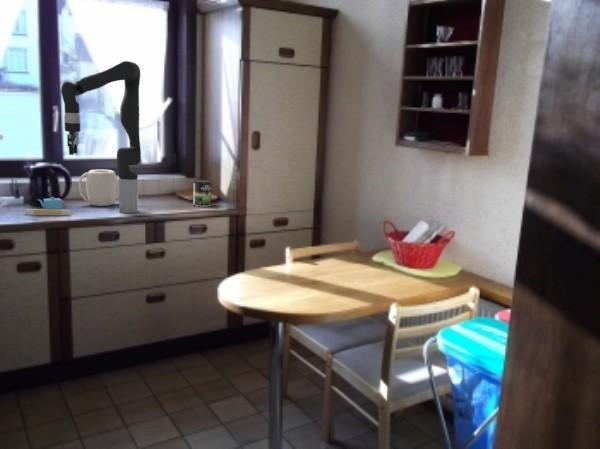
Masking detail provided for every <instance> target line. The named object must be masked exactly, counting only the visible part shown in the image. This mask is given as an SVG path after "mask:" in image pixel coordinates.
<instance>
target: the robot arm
mask: <svg viewBox="0 0 600 449" xmlns="http://www.w3.org/2000/svg"><path fill="white" fill-rule="evenodd" d="M117 81H118V82H119V81H123V82H124V93H123V96H122V99H121V103H120V108H119V110H120V111H119V114H120V115H119V116H120V118H119V119H120V120H119V121H120V123H121V125H122V127H123V129H124V131H125V132H126V134H127V136H128V140H129V146H128V147H127V146H124V147H122V146H121V147H119V148H118V149H117V153H116V163H117V164H116V166H117V175H118V177H119V198H118V211H119V213H121V214H122V213H123V214H125V213H126V214H134V213H138V212H139V192H138V191H139V190H138V189H139V188H138V184H139V183H138V180H139V179H138V173H137V172H134V171H132V170H130V166H137V165H140V162H141V161H142V160H141V158H142V150H141V142H140V141H141V140H140V93H139V92H140V81H141V69H140V67H139V65H138V64H137V63H136V62H133V61H128V60H125V61H122V62H119V63H118V64H115V65H114V66H112V67H111V68H108V69H105V70H103V71H100V72H97V73H94V74H93V73H92V74H89V75H86V76H84V77H82V78H80V80H77V81H67V80H66V81H64V82H63V83H62V84H61V85H62V86H61V98H62V101H63V104H64V116H63V117H64V119H63V121H64V131H65V132H68V134H66V136H67V137H66V138H67V144H66V146H67V147H68V155H70V156H74V155H75V154H78V145H79V133H80V132H81V130H82V129H81V114H80V112H81V111H80V110H81V109H80V104H79V102H78V101H77V98H76V97H79V96H80V95H84V94H85V93H88V92H90V91H94V90H97V89H100V88H102V87H103V88H104V86H106V85H108V84H111V83H113V82H117ZM78 132H79V133H78Z"/></svg>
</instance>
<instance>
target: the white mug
mask: <svg viewBox="0 0 600 449" xmlns="http://www.w3.org/2000/svg"><path fill="white" fill-rule="evenodd" d="M84 177H86V178H85V190H86V191H85V192H86V195H85V194H84V193H83V192H84V191H83V190H82V181H83V178H84ZM77 187H78V192H79V194H80V196H81V197H82V199H83V200H85V202H88V203H89V204H90V205H92V206H99V207H104V206H105V207H107V206H108V207H109V206H110V205H114V203H115V201H116V200H117V199H119V176H117V175H116V172H115V171H114V170H111V169H103V168H102V169H90V170H88V172H84V173H83V174H82V175H81V176H80V177H79V181H78V186H77ZM86 196H87V197H86Z"/></svg>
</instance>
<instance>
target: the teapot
mask: <svg viewBox="0 0 600 449" xmlns="http://www.w3.org/2000/svg"><path fill="white" fill-rule="evenodd" d="M38 201H39V203H40V204H41V207H42V208H43V209H59V210H63V209H64V206H63V205H64V203H65V201H64V199H61V198H59V197H57V198H56V197H54V196H51V197H49V198H43V201H42V199H38Z"/></svg>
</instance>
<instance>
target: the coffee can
mask: <svg viewBox="0 0 600 449" xmlns="http://www.w3.org/2000/svg"><path fill="white" fill-rule="evenodd" d="M192 182H193V190H192V191H193V193H192V195H193V196H192V198H193V199H192V202H193V203H192V206H193V205H195V206H194V207H198V206H200V207H199V208H201V207H202V208H203V207H204V208H207V207H208V206H209V207H211V206H212V182H213V181H212V180H207V179H194V180H193V181H192ZM209 207H208V208H209Z"/></svg>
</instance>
